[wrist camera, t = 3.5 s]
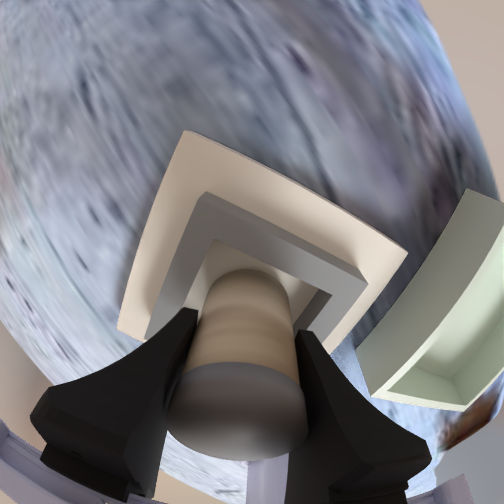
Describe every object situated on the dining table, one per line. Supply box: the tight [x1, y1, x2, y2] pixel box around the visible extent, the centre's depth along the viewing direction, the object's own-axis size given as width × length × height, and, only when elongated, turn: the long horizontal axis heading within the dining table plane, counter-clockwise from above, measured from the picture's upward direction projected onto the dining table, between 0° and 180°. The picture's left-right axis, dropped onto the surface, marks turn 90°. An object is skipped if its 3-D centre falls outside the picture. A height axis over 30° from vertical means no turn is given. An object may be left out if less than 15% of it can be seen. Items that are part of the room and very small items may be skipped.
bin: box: [355, 188, 504, 412], centre depth 13 cm, size 12×12×4 cm
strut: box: [165, 269, 308, 461], centre depth 10 cm, size 4×4×7 cm
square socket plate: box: [116, 130, 408, 355], centre depth 13 cm, size 12×12×3 cm
